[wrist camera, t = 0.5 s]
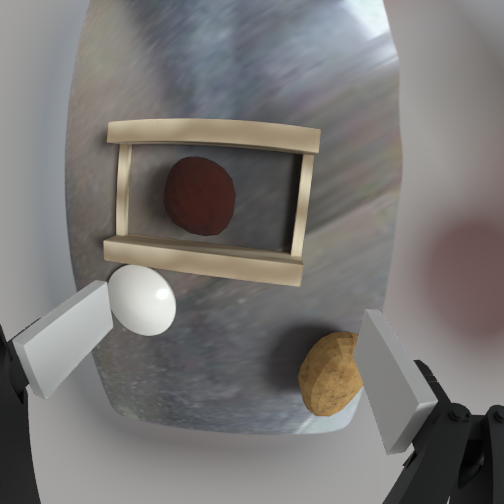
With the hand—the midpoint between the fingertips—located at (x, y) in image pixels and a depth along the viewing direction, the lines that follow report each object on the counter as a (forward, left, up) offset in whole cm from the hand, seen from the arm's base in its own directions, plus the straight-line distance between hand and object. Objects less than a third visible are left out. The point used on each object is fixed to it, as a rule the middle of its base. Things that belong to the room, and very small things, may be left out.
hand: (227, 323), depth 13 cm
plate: (+12, -15, -22) cm, 29 cm away
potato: (+17, +13, -22) cm, 31 cm away
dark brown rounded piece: (-4, -6, -22) cm, 24 cm away
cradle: (-4, -6, -22) cm, 23 cm away
